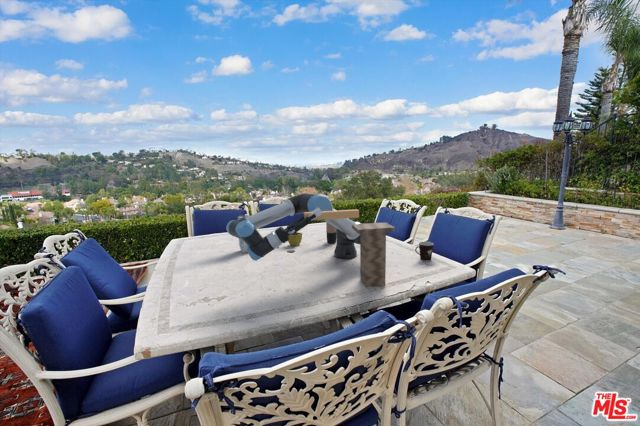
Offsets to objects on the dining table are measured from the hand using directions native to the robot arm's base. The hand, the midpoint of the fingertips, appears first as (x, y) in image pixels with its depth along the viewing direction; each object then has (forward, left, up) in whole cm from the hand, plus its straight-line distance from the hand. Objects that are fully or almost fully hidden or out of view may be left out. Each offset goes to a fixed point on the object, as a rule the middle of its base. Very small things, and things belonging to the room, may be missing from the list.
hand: (320, 210), depth 135 cm
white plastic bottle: (-82, +19, -40) cm, 93 cm away
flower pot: (-62, +49, -40) cm, 89 cm away
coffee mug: (+28, +69, -40) cm, 85 cm away
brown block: (+4, +4, -4) cm, 7 cm away
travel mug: (-42, +69, -40) cm, 90 cm away
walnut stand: (+17, +20, -39) cm, 47 cm away
